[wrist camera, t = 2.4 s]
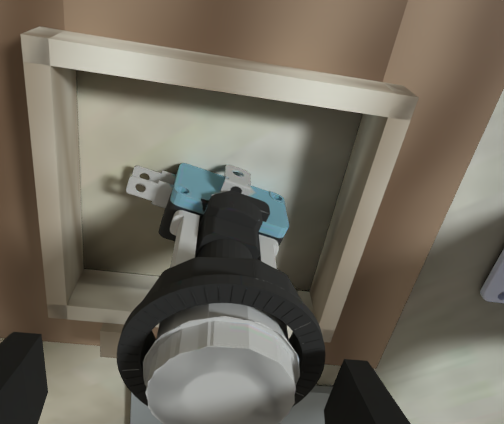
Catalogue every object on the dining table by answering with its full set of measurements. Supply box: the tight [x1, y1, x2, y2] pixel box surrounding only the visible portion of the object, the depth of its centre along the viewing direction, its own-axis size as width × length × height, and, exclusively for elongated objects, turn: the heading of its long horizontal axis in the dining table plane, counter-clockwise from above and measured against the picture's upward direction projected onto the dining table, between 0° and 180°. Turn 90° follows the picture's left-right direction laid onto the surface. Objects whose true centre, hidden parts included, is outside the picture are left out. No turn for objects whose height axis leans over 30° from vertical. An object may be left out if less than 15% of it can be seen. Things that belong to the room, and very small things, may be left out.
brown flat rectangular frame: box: [0, 0, 504, 368], centre depth 17 cm, size 20×18×3 cm
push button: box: [117, 163, 326, 424], centre depth 15 cm, size 7×5×10 cm
